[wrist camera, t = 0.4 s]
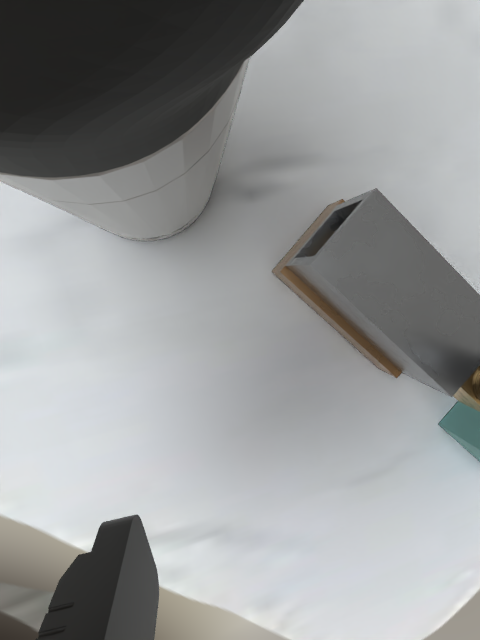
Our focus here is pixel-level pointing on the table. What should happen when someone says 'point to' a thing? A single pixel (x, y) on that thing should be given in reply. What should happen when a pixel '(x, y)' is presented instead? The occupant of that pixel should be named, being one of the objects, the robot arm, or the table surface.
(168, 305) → the table surface
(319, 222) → the sleeve
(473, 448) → the socket
